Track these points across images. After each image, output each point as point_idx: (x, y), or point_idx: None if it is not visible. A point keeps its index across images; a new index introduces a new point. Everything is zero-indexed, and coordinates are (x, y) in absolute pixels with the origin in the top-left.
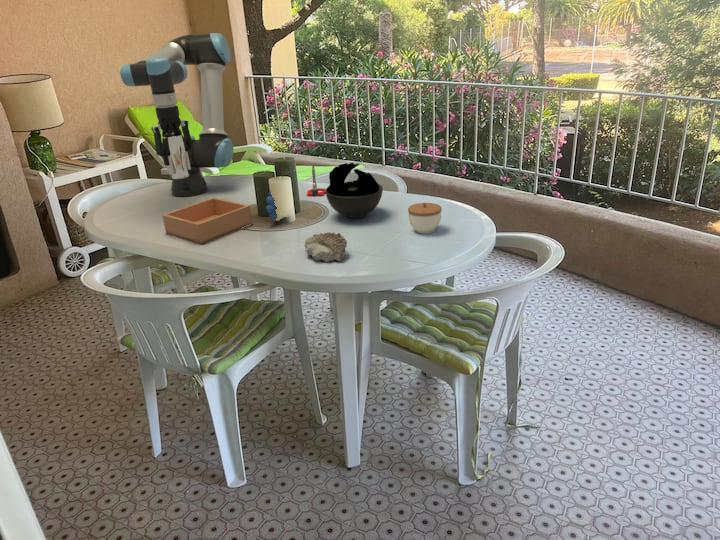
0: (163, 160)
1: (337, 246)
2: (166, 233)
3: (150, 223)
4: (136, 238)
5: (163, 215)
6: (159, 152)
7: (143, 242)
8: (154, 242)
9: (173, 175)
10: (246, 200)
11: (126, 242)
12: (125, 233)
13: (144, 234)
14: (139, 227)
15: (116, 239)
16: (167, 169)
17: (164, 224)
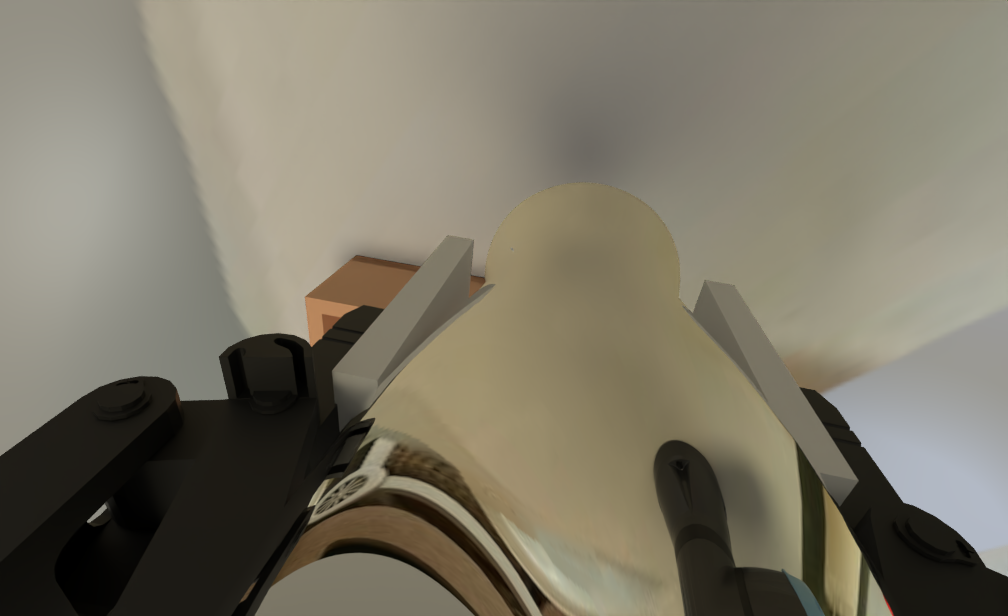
0: (313, 345)
1: None
2: (355, 257)
3: (407, 14)
4: (243, 158)
5: (306, 307)
6: (86, 528)
7: (244, 234)
8: (275, 280)
9: (484, 277)
10: (978, 298)
11: (192, 155)
12: (233, 20)
13: (292, 151)
14: (329, 9)
15: (168, 60)
16: (429, 261)
17: (333, 275)
